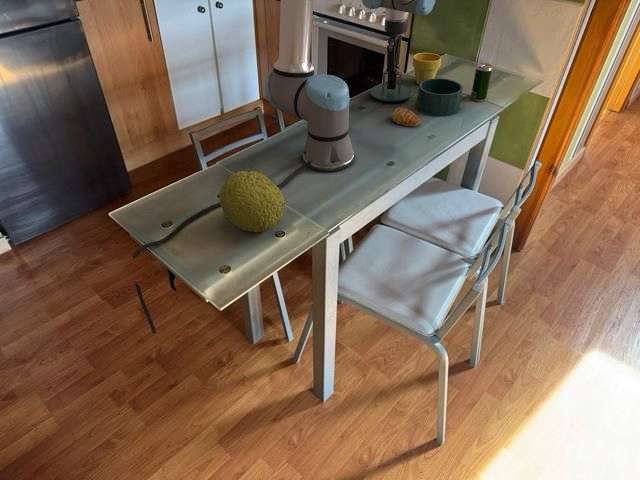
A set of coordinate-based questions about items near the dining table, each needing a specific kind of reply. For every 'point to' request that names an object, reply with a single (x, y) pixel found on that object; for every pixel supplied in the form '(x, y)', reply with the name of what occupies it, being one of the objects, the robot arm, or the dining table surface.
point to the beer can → (481, 82)
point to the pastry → (405, 117)
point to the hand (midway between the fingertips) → (391, 87)
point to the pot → (439, 97)
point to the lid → (391, 91)
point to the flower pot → (425, 66)
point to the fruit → (251, 201)
